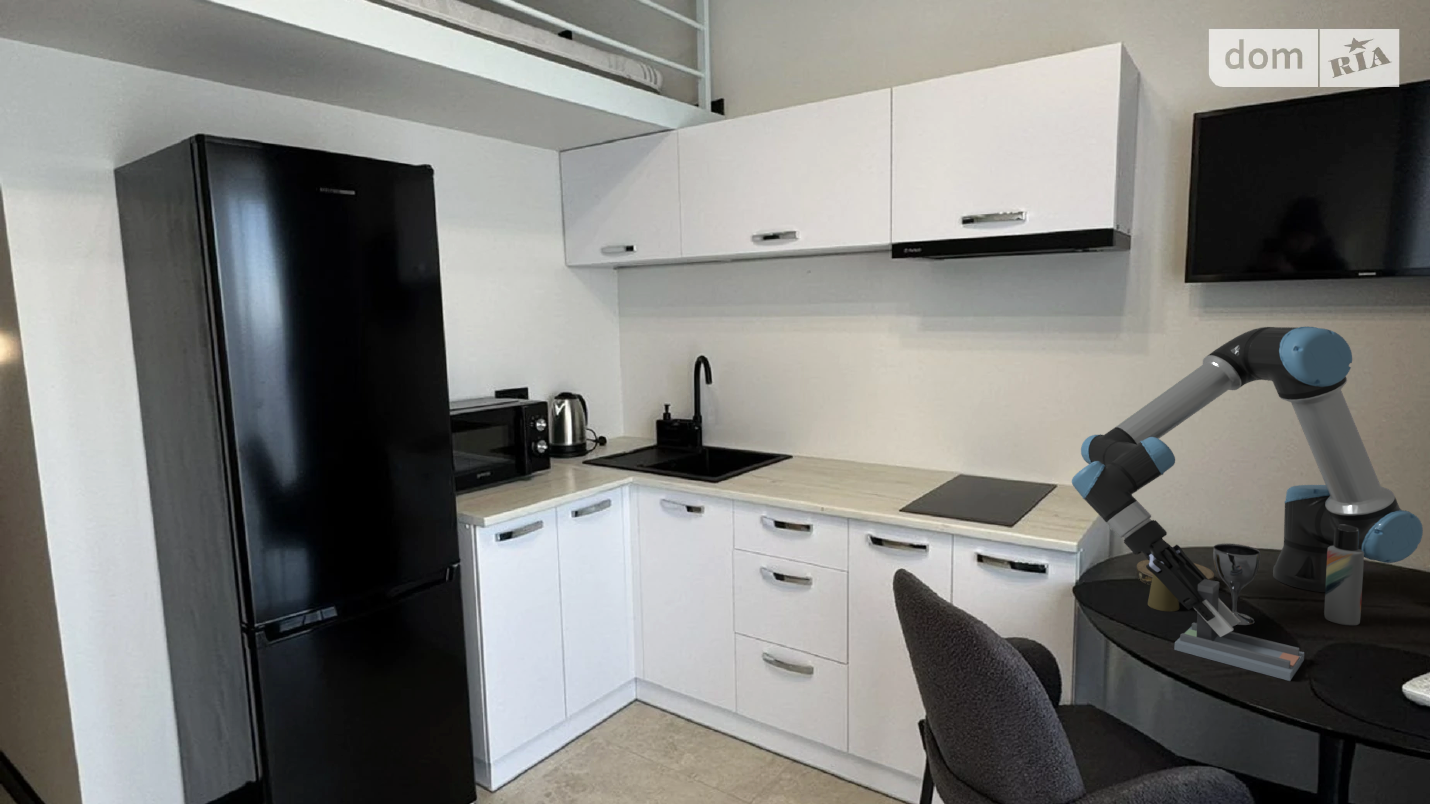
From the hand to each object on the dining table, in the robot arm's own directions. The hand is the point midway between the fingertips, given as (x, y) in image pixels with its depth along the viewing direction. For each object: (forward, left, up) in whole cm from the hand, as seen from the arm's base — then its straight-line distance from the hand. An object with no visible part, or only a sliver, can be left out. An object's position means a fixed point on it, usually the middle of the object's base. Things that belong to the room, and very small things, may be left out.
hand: (1230, 629), depth 140 cm
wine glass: (-11, -16, -5) cm, 20 cm away
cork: (0, -23, -5) cm, 24 cm away
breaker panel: (-1, +1, -5) cm, 5 cm away
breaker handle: (+3, -3, -3) cm, 5 cm away
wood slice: (-11, -39, -5) cm, 41 cm away
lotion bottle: (-31, -14, -5) cm, 34 cm away
